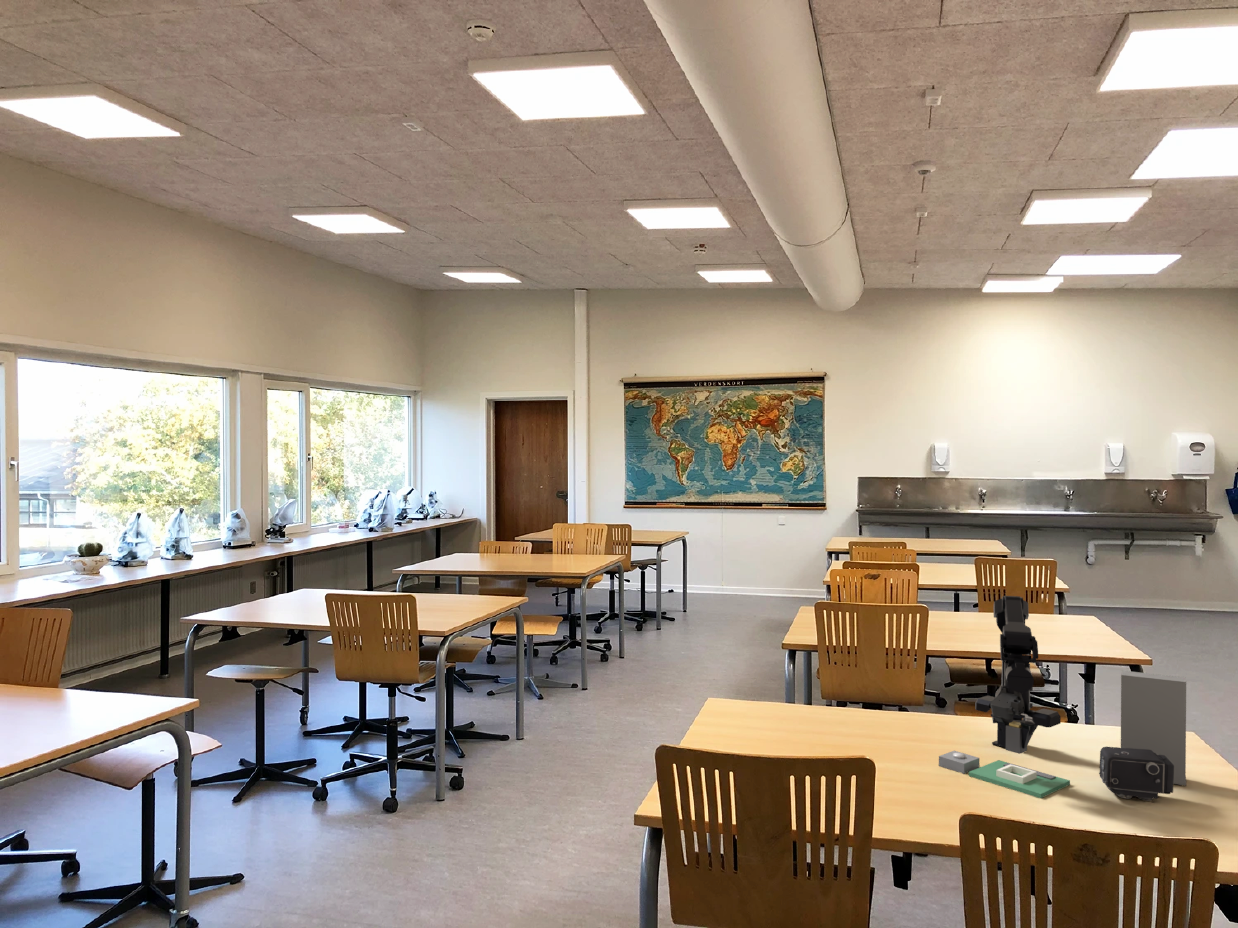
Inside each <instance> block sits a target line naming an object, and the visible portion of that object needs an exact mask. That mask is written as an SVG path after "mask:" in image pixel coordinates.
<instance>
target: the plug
mask: <svg viewBox="0 0 1238 928" xmlns="http://www.w3.org/2000/svg"><path fill="white" fill-rule="evenodd" d="M1022 731H1023V728H1022V725H1021V723H1020V722H1016V721H1013V722H1011V723H1009V724H1008V725H1006V748H1005V751H1007V752H1012V753H1014V754H1019V755H1020V754H1023V753H1026V752H1027V751H1028V746H1027V747H1026V748H1025V749H1023V748H1022Z"/></svg>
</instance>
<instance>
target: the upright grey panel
mask: <svg viewBox="0 0 1238 928" xmlns="http://www.w3.org/2000/svg"><path fill="white" fill-rule="evenodd" d="M1186 742H1187V679H1186V677H1185V676H1174V675H1165V674H1157V673H1156V674H1155V673H1147V672H1146V673H1145V672H1138V671H1128V670H1121V675H1120V748H1132V749H1147V750H1152V751H1153V752H1154V753H1156V754H1157V755H1165V756H1166V757H1167V758H1168V759H1169V760H1170V761H1171V762H1172V764H1173V765H1174V781H1173V785H1179V786H1181V785H1184V786H1187V777H1186V776H1187V775H1186V773H1187V772H1186V769H1187V767H1186V764H1187V763H1186V762H1187V753H1186V752H1187V750H1186V749H1187V748H1186V747H1187V745H1186V744H1187V743H1186Z"/></svg>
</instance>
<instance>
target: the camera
mask: <svg viewBox="0 0 1238 928" xmlns="http://www.w3.org/2000/svg"><path fill="white" fill-rule="evenodd" d="M1098 775H1099V778H1100V780H1101V781H1102V783H1103V784H1104V785H1105V786H1106V788H1107V789H1108V790H1109V791H1110V792H1111V793H1113V794H1114V795H1116V796H1118V797H1119V798H1122V799H1128V800H1129V799H1132V798H1133V797H1137V798H1138V799H1140V800H1143V801H1147V802H1148V801H1149V802H1150V801H1153V800H1154V799H1158V797H1159V794H1163V795H1171V794H1173V793H1174V784H1173V781H1174V765H1173V764H1172V762H1171V761H1170V760H1169V759H1168V758H1167V757H1166V756H1165V755H1157V754H1156V753H1154V752H1153V751H1152V750H1147V749H1132V748H1121V747H1119V746H1115V747H1113V746H1103V747H1102V748H1100V751H1099V772H1098Z"/></svg>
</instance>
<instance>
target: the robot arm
mask: <svg viewBox="0 0 1238 928" xmlns="http://www.w3.org/2000/svg"><path fill="white" fill-rule="evenodd" d="M1029 609H1030V608H1029V602H1027V601H1026V600H1024V597H1022V596H1018V595H1004V596H1001V598H999V599H997V600H994V601H993V618H995V619H996V620H995V622H996V626H997V627H998V629H999V631H1000V632H1001V633H1000V634H999V651H1000V661H1001V685H1000V686H999V688H998V689H997V691H996V692H995V696H991V695H985V696H982V697H981V696H980V697H978V698H977V699H976V700H975V703H974V705H975V707H974V708H975V710H976V711H978V712H983V713H988V712H990V710H991V714H990V717H991V719H992V723H993V724H997V727H996V728H997V731H996V734H997V735H996V738H997V740H994V741H992V742H991V745H993V746H994V745H995V746H998V747H1001V748H1005V749H1006V725H1008V724H1009V723H1011V722H1013V721H1016V722H1020V723H1021V725H1022V728H1023V731H1022V748H1023V749H1025V748H1026V747H1027V748H1028V745H1029V743H1030V741H1031V739H1032V737H1033V735H1034V733H1035V731H1036V730H1037V728H1038V726H1040V727H1043V728H1052V727H1054V726H1057V725H1060V724H1061V721H1062V720H1061V719H1062V717H1061V715H1060V713H1059V711H1056V710H1052V709H1048V708H1041V709H1038V710H1033V709H1032V708H1033V702H1031V693H1030V692H1032V691H1033V689H1034V688H1033V686H1034V684H1035V681H1034V677H1033V674H1032V671H1031V664H1036V663H1037V660H1039V646H1038V640H1037V639H1036V637H1035V635H1033V634H1032V628H1031V627H1030V626H1027V625H1026V620H1028V619H1029V617H1030V616H1029V614H1030V613H1029V611H1030V610H1029Z"/></svg>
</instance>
